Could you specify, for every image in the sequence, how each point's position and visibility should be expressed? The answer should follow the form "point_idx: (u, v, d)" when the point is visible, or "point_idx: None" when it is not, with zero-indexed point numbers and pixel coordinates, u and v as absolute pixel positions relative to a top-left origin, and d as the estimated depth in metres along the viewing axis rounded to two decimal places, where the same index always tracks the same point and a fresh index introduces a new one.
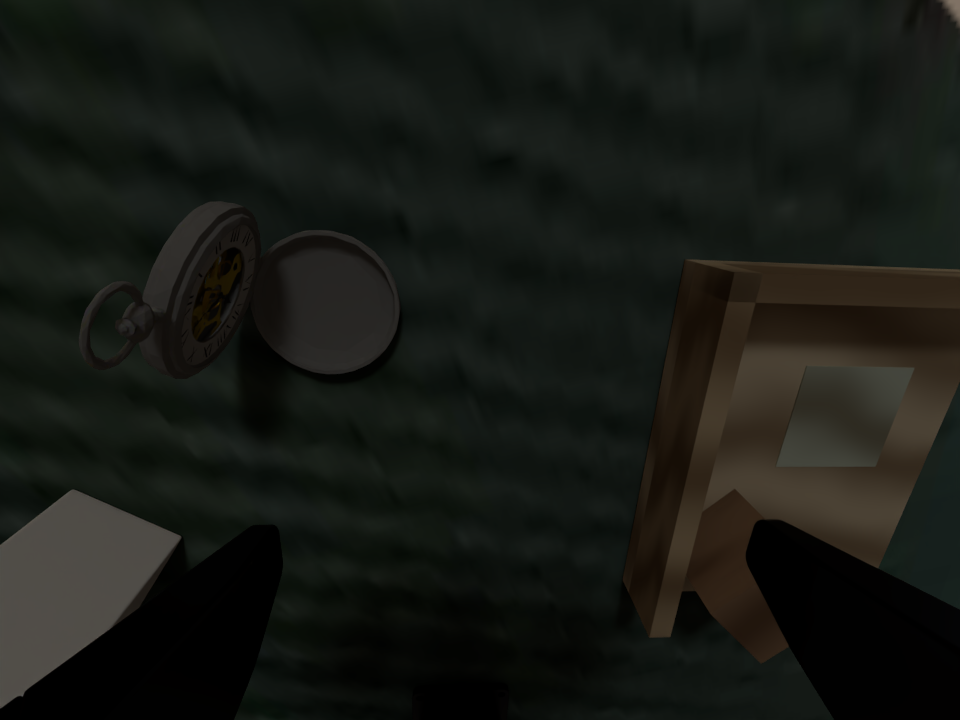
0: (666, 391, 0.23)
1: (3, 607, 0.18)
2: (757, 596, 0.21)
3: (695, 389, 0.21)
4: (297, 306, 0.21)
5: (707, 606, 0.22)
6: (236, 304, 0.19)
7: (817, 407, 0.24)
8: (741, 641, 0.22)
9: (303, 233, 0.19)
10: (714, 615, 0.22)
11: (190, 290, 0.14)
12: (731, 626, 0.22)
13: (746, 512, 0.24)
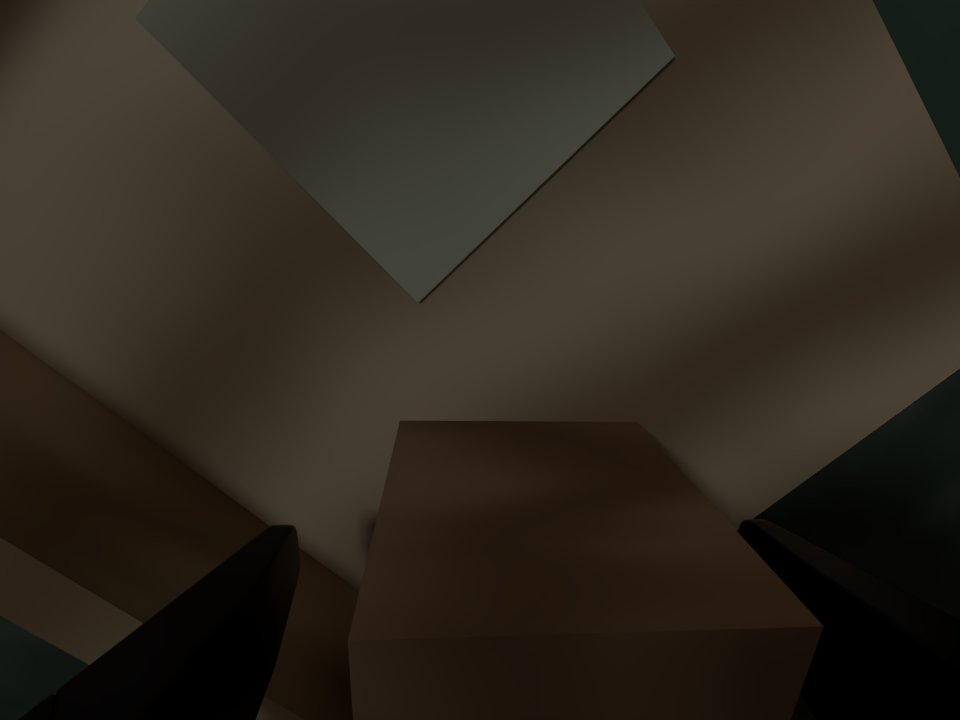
0: None
1: None
2: None
3: None
4: None
5: None
6: None
7: (311, 82, 0.07)
8: None
9: None
10: None
11: None
12: None
13: None
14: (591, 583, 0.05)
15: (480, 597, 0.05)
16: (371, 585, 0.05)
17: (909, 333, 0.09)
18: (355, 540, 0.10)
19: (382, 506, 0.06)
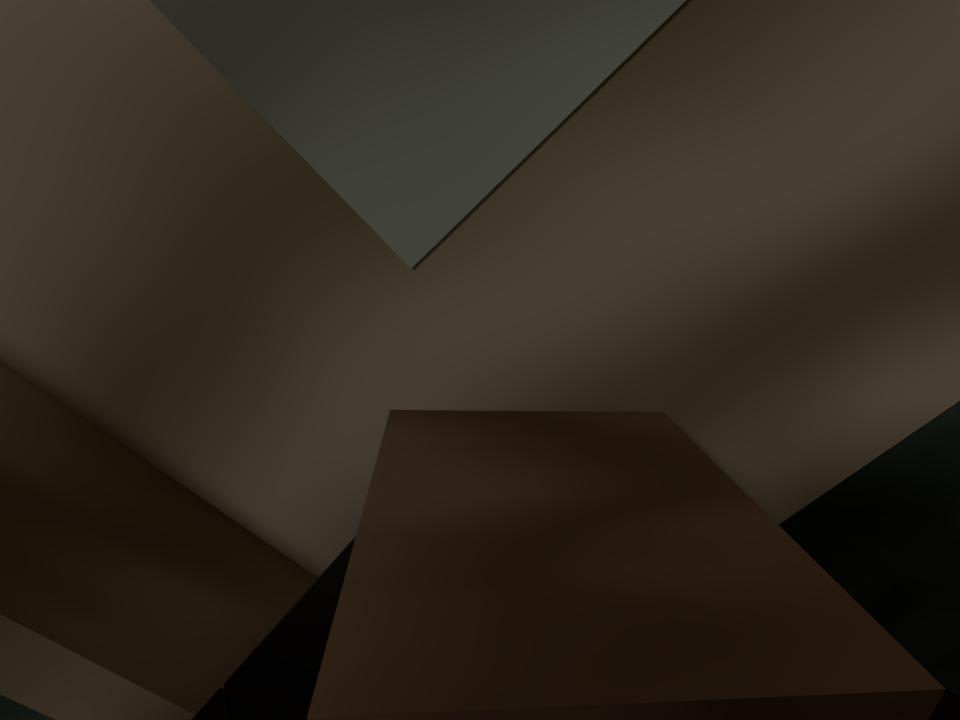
0: None
1: None
2: None
3: None
4: None
5: None
6: None
7: None
8: None
9: None
10: None
11: None
12: None
13: None
14: (631, 626, 0.04)
15: (488, 647, 0.04)
16: (344, 629, 0.04)
17: None
18: (341, 541, 0.09)
19: (364, 517, 0.05)
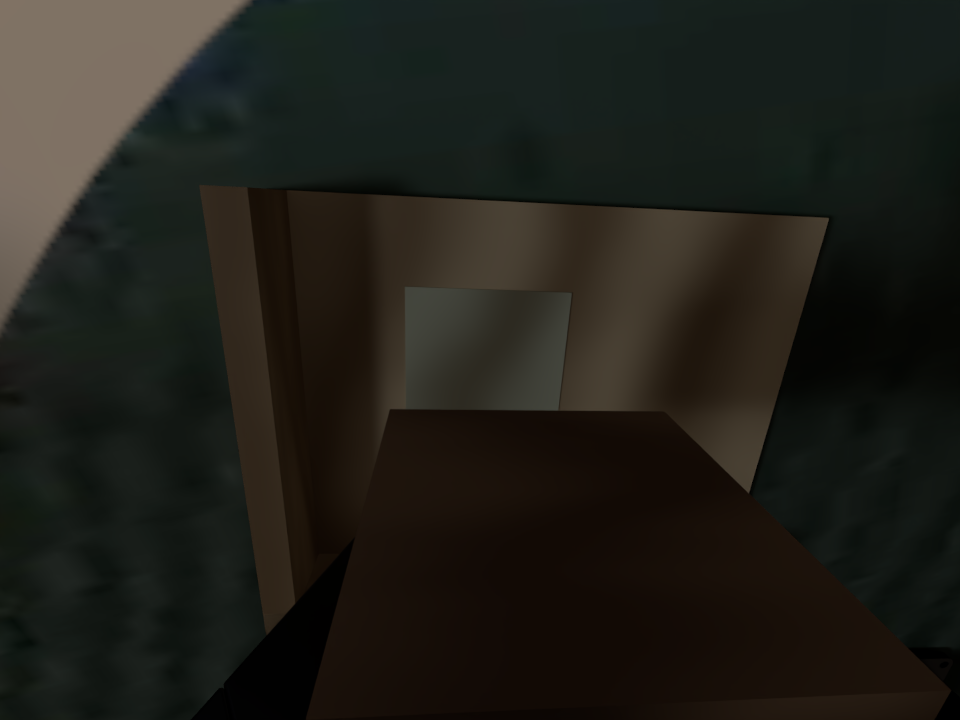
0: None
1: None
2: None
3: None
4: None
5: None
6: None
7: (465, 408, 0.18)
8: None
9: None
10: None
11: None
12: None
13: None
14: (633, 626, 0.04)
15: (489, 648, 0.04)
16: (344, 630, 0.04)
17: (772, 275, 0.17)
18: None
19: (363, 517, 0.05)
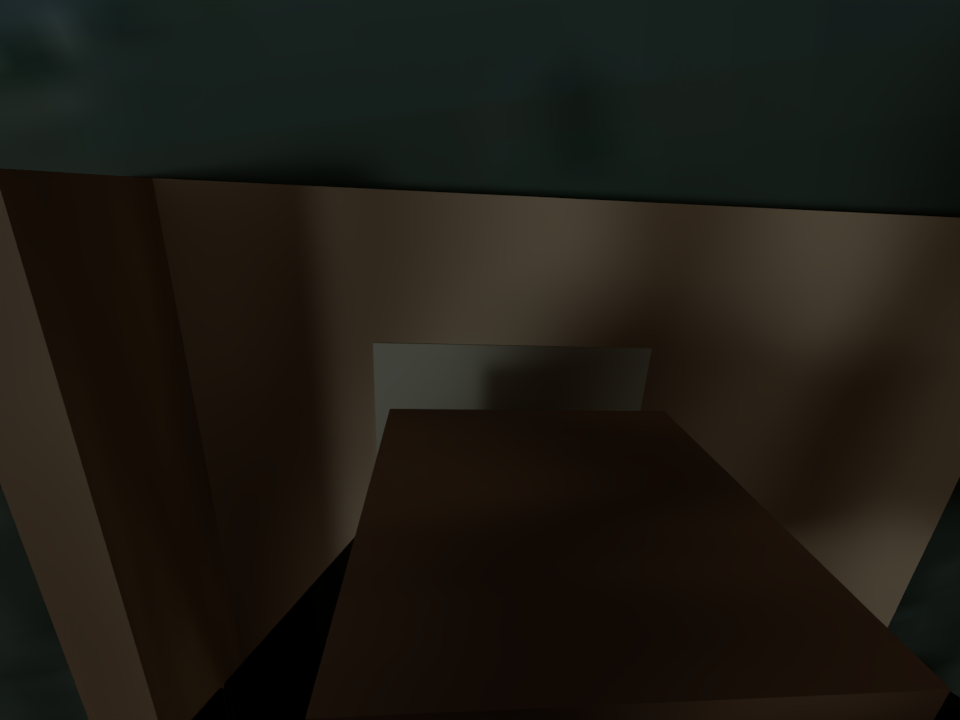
0: None
1: None
2: None
3: None
4: None
5: None
6: None
7: None
8: None
9: None
10: None
11: None
12: None
13: None
14: (633, 625, 0.04)
15: (489, 648, 0.04)
16: (344, 629, 0.04)
17: None
18: None
19: (363, 517, 0.05)
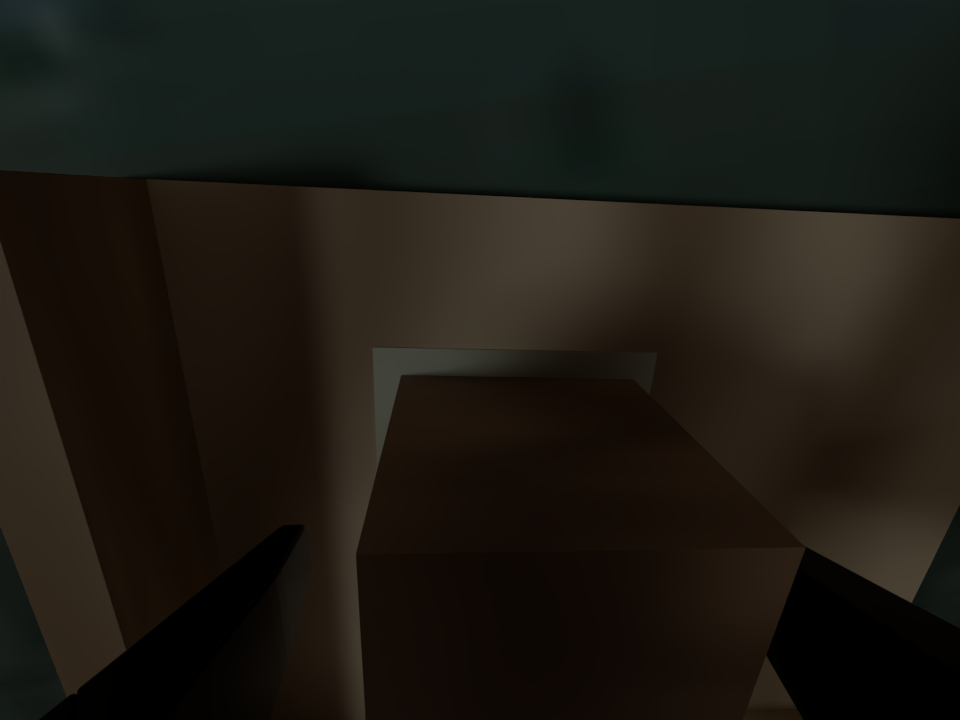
0: None
1: None
2: None
3: None
4: None
5: None
6: None
7: None
8: None
9: None
10: None
11: None
12: None
13: None
14: (586, 510, 0.05)
15: (481, 521, 0.05)
16: (377, 510, 0.05)
17: None
18: None
19: (385, 446, 0.07)
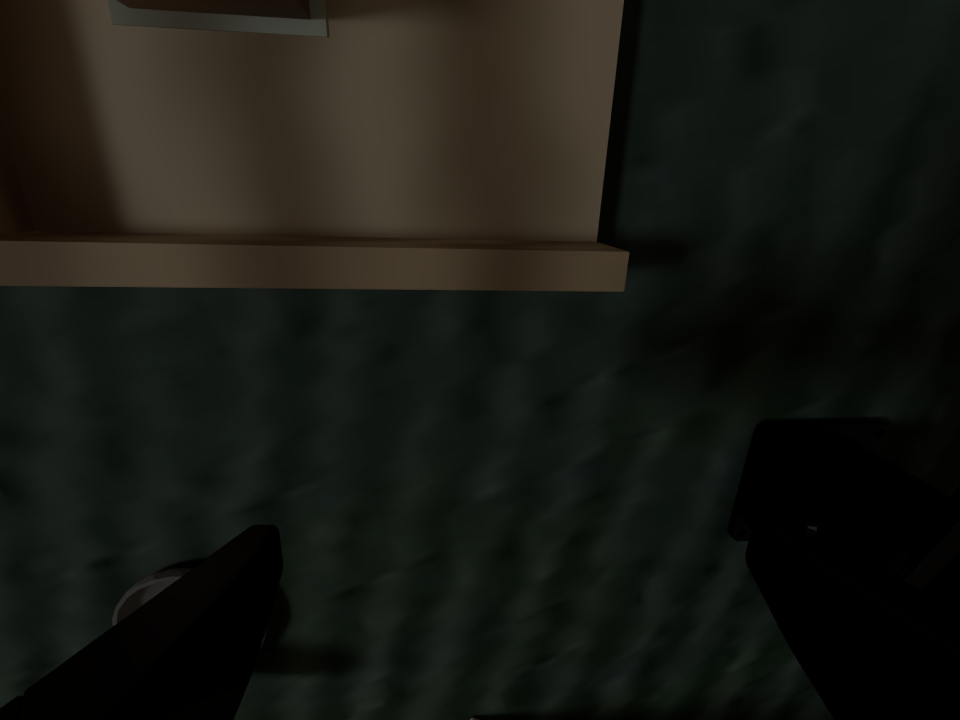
0: None
1: None
2: None
3: None
4: None
5: None
6: None
7: None
8: None
9: None
10: None
11: None
12: None
13: None
14: None
15: None
16: None
17: None
18: (424, 208, 0.15)
19: None
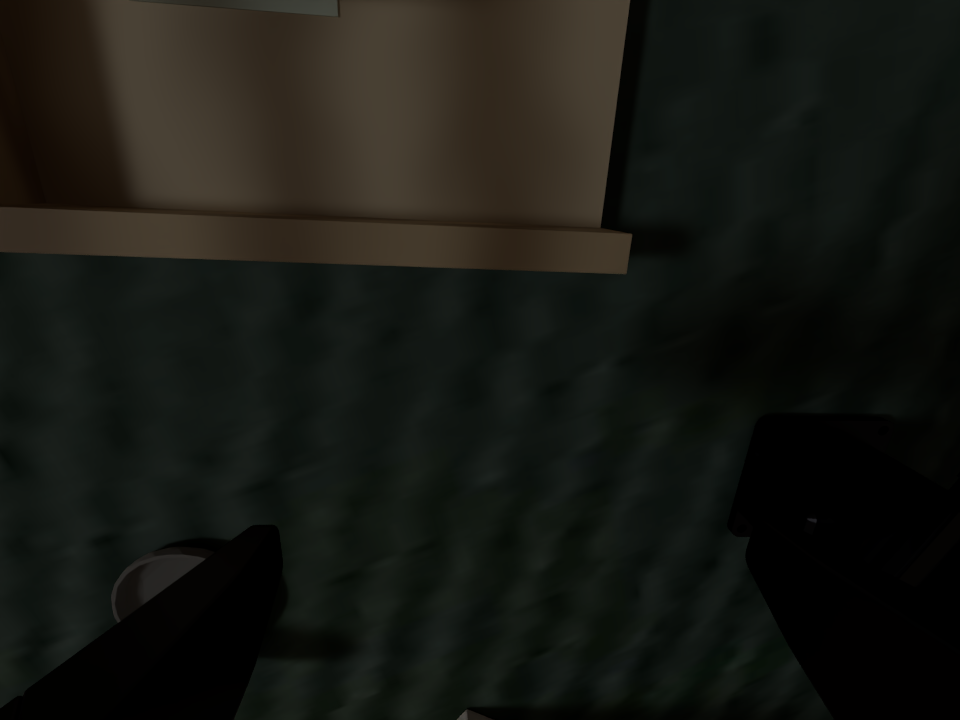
0: None
1: None
2: None
3: None
4: None
5: None
6: None
7: None
8: None
9: None
10: None
11: None
12: None
13: None
14: None
15: None
16: None
17: None
18: (429, 190, 0.15)
19: None
